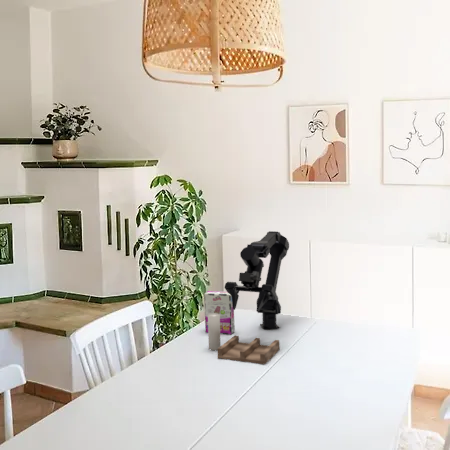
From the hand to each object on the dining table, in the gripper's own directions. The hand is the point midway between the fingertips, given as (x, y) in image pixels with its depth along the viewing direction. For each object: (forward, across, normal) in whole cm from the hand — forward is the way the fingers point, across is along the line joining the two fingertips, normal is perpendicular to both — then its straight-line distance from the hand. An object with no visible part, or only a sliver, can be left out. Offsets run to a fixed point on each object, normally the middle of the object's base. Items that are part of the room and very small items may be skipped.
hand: (245, 310), depth 224 cm
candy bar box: (+2, -17, +20) cm, 27 cm away
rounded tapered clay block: (+14, -11, +5) cm, 19 cm away
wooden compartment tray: (+15, +3, +4) cm, 16 cm away
